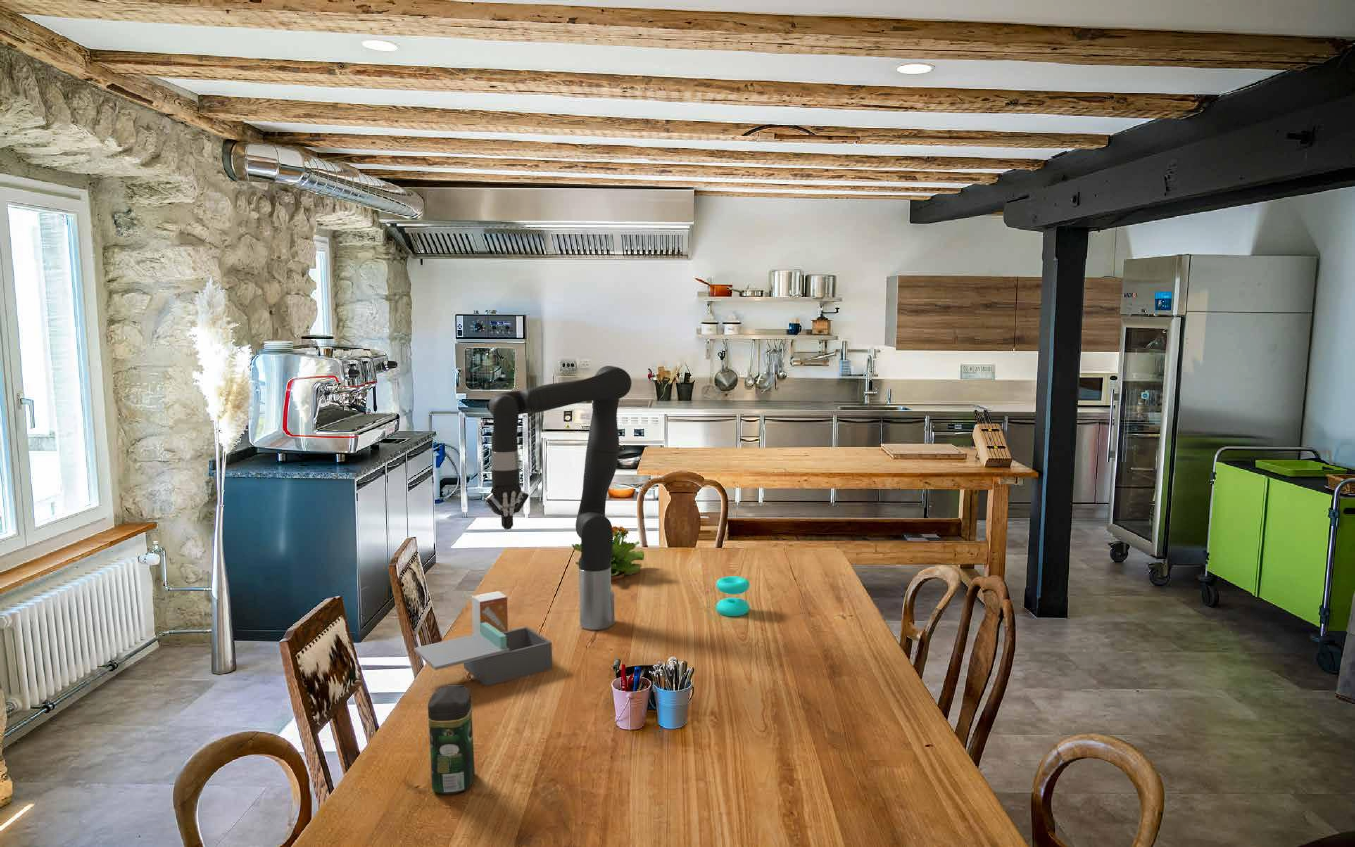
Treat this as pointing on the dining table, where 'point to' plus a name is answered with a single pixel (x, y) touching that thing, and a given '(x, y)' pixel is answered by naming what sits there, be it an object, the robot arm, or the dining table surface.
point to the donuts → (732, 604)
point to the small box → (490, 611)
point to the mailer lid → (464, 648)
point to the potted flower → (621, 555)
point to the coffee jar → (451, 739)
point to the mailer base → (514, 658)
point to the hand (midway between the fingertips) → (507, 528)
